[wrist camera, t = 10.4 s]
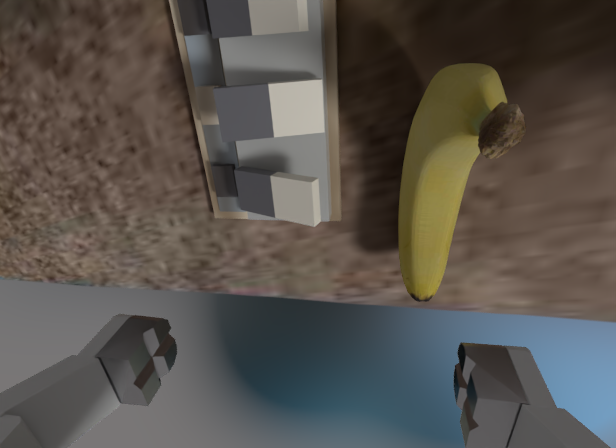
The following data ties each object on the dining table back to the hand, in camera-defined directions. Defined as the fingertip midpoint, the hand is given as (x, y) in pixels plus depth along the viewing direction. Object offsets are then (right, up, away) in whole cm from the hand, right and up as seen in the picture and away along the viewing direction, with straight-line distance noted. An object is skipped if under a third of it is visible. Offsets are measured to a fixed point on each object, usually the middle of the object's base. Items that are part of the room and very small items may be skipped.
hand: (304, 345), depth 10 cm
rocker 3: (-2, +7, +26) cm, 27 cm away
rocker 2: (-3, +14, +23) cm, 27 cm away
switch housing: (-2, +16, +26) cm, 30 cm away
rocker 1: (-3, +21, +19) cm, 28 cm away
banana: (+12, +8, +27) cm, 31 cm away
